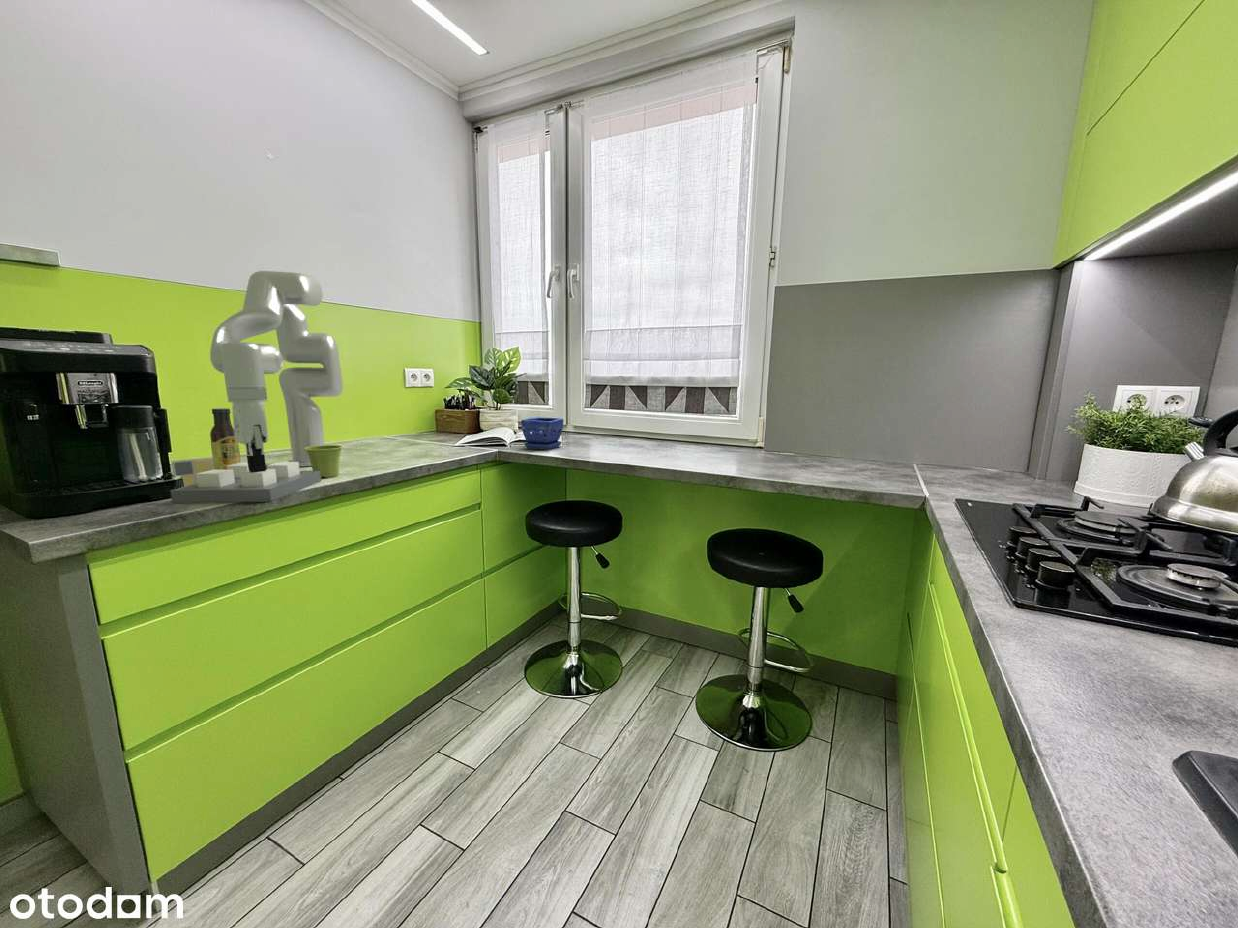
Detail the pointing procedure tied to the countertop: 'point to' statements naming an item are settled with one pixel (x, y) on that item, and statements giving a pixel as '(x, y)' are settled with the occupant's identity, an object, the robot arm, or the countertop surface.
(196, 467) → the card
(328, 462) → the plant pot
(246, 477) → the button
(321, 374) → the robot arm
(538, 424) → the flower pot
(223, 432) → the sauce bottle
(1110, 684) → the countertop surface
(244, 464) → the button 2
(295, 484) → the button board
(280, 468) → the button
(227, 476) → the button
